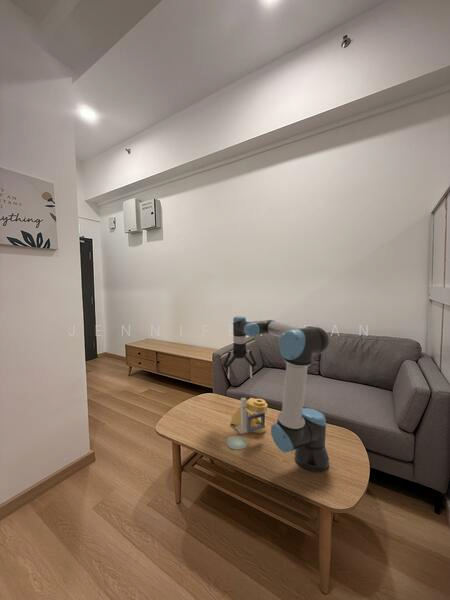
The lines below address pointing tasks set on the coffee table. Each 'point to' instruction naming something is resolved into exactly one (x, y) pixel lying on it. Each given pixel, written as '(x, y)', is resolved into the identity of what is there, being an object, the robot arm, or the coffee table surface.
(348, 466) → the coffee table surface
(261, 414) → the link
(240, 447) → the coaster
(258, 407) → the clamp
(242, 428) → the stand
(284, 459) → the coffee table surface
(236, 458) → the coffee table surface
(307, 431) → the robot arm
